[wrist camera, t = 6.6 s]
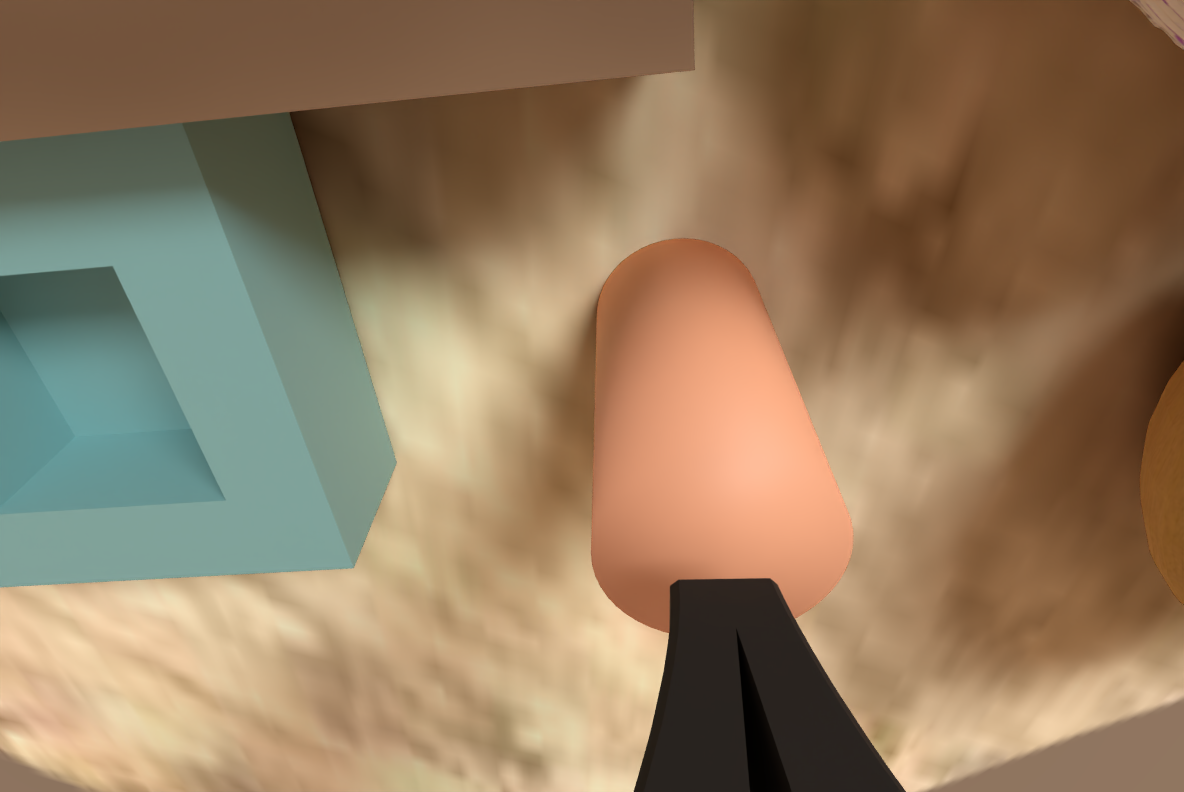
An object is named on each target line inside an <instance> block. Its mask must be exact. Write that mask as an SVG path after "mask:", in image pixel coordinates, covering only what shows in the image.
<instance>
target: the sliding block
mask: <svg viewBox="0 0 1184 792" xmlns="http://www.w3.org/2000/svg"><path fill="white" fill-rule="evenodd" d="M396 463H397V462H396V459H395V455H394V452H393V449H392V446H391V442H390V439H389V436H388V433H387V429H386V426H385V423H384V420H383V416H382V413H381V410H380V407H379V403H378V400H377V397H376V394H375V390H374V387H373V384H372V381H371V377H370V374H369V371H368V368H367V364H366V361H365V358H364V355H363V351H362V348H361V345H360V342H359V338H358V335H357V332H356V329H355V325H354V322H353V319H352V316H351V312H350V309H349V306H348V303H347V299H346V296H345V293H344V290H343V286H342V283H341V280H340V277H339V273H338V270H337V267H336V264H335V260H334V257H333V254H332V251H331V247H330V244H329V241H328V237H327V234H326V231H325V228H324V224H323V221H322V218H321V215H320V211H319V208H318V205H317V202H316V198H315V195H314V192H313V189H312V185H311V182H310V179H309V176H308V172H307V169H306V166H305V163H304V159H303V156H302V153H301V150H300V146H299V143H298V140H297V137H296V133H295V130H294V127H293V124H292V120H291V117H290V114H289V112H283V113H273V114H263V115H254V116H244V117H234V118H225V119H215V120H205V121H195V122H186V123H176V124H166V125H157V126H147V127H137V128H127V129H118V130H108V131H98V132H89V133H79V134H69V135H60V136H50V137H40V138H30V139H21V140H11V141H1V142H0V587H15V586H33V585H52V584H70V583H89V582H107V581H126V580H144V579H163V578H181V577H200V576H218V575H237V574H255V573H274V572H292V571H311V570H330V569H348V568H354V566H355V564H356V561H357V559H358V556H359V554H360V551H361V549H362V547H363V544H364V542H365V539H366V537H367V534H368V532H369V529H370V527H371V524H372V522H373V520H374V517H375V515H376V512H377V510H378V507H379V505H380V502H381V500H382V498H383V495H384V493H385V490H386V488H387V485H388V483H389V480H390V478H391V476H392V473H393V471H394V468H395V466H396Z"/></svg>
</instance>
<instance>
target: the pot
mask: <svg viewBox="0 0 1184 792" xmlns="http://www.w3.org/2000/svg"><path fill="white" fill-rule="evenodd" d="M1140 497H1141V506H1142V512H1143V518H1144V524H1145V529H1146V535H1147V541H1148V546H1149V551H1150V553H1151V556H1152V558H1153V560H1154V563H1155V565H1156V566H1157V568H1158V570H1159V571H1160V573H1161V575H1162V576H1163V578H1164V579H1165V581H1166V583H1167V584H1168V586H1169V588H1170V589H1171V591H1172V592H1173V594H1174V595H1175V597H1176V598H1177V599H1178V600H1179V601H1180V603H1182V604H1183V605H1184V361H1183V362H1182V363H1181V365H1180V366H1179V367H1178V369H1177V370H1176V371H1175V373H1174V374H1173V376H1172V377H1171V378H1170V380H1169V381H1168V383H1167V385H1166V387H1165V389H1164V391H1163V393H1162V395H1161V397H1160V400H1159V402H1158V404H1157V406H1156V408H1155V410H1154V413H1153V415H1152V417H1151V419H1150V421H1149V424H1148V429H1147V433H1146V439H1145V445H1144V451H1143V457H1142V463H1141V469H1140Z"/></svg>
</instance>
